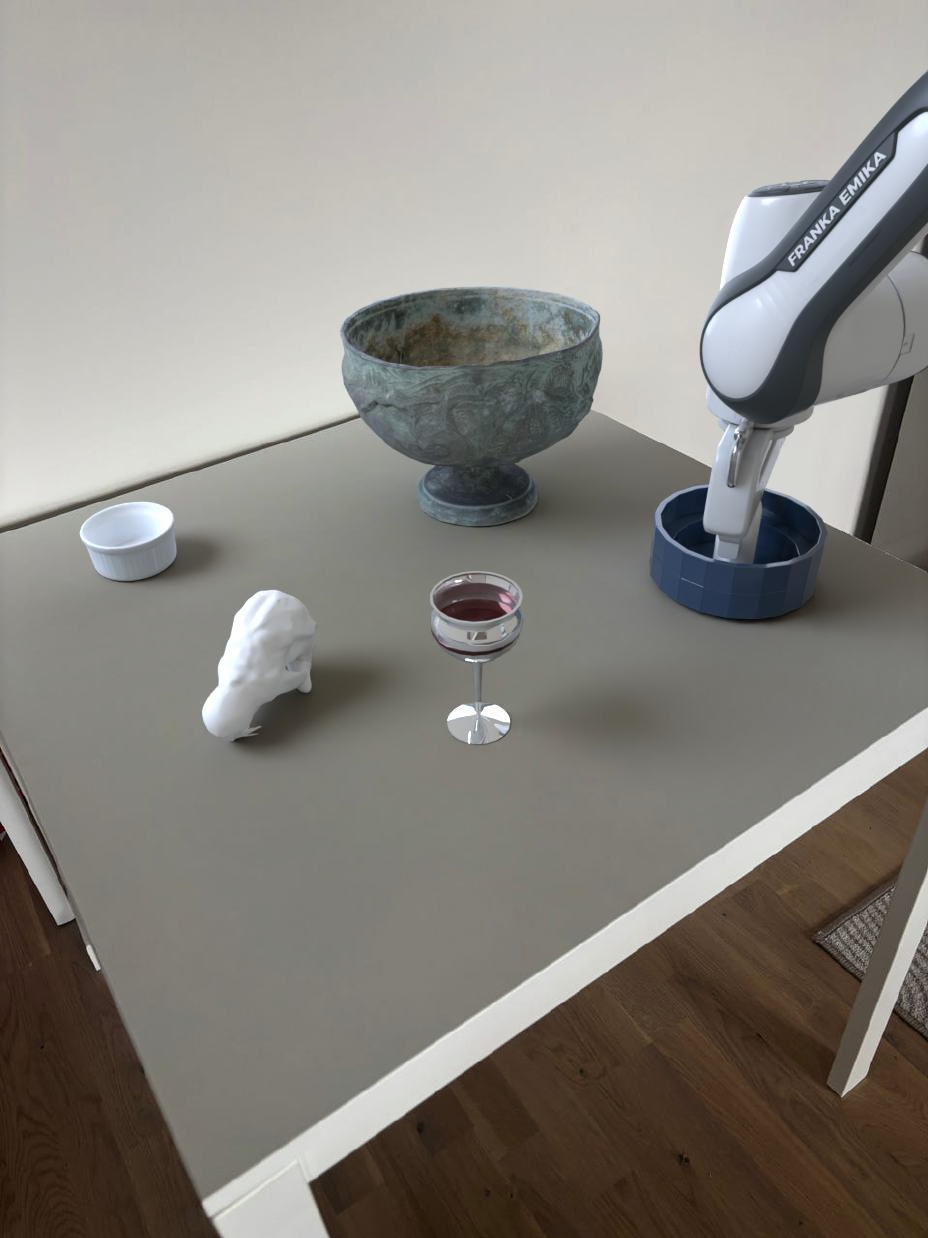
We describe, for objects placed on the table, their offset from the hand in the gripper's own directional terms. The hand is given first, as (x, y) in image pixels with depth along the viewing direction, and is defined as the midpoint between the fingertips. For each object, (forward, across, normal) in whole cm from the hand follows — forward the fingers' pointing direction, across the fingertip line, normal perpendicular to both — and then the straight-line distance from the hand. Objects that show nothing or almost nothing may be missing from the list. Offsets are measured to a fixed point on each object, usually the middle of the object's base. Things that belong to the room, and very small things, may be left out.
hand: (738, 531), depth 89 cm
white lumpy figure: (+5, -33, +31) cm, 46 cm away
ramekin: (+5, -19, +55) cm, 58 cm away
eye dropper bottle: (+5, 0, 0) cm, 5 cm away
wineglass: (+5, -28, +14) cm, 32 cm away
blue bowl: (+5, 0, 0) cm, 5 cm away
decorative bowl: (+5, +6, +29) cm, 30 cm away
